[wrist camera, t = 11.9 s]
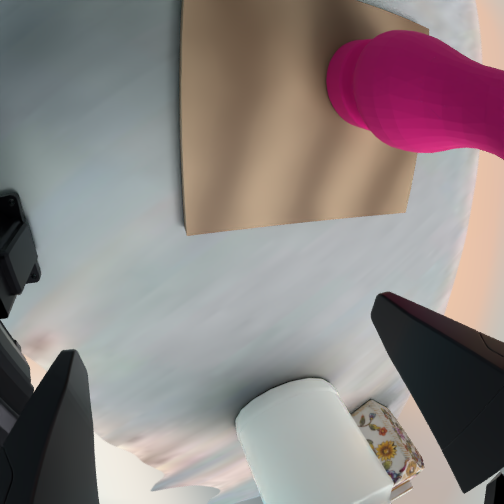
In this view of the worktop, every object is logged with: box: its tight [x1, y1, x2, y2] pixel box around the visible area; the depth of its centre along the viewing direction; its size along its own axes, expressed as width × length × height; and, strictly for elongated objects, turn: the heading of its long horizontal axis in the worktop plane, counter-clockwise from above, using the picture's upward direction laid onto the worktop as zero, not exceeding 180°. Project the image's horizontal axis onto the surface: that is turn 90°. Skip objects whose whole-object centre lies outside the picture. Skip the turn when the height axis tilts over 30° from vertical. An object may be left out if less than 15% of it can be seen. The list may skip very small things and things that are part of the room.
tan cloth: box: [179, 0, 429, 236], centre depth 18 cm, size 18×16×1 cm
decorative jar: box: [351, 400, 424, 502], centre depth 42 cm, size 12×12×18 cm
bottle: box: [235, 378, 394, 504], centre depth 26 cm, size 14×14×28 cm
